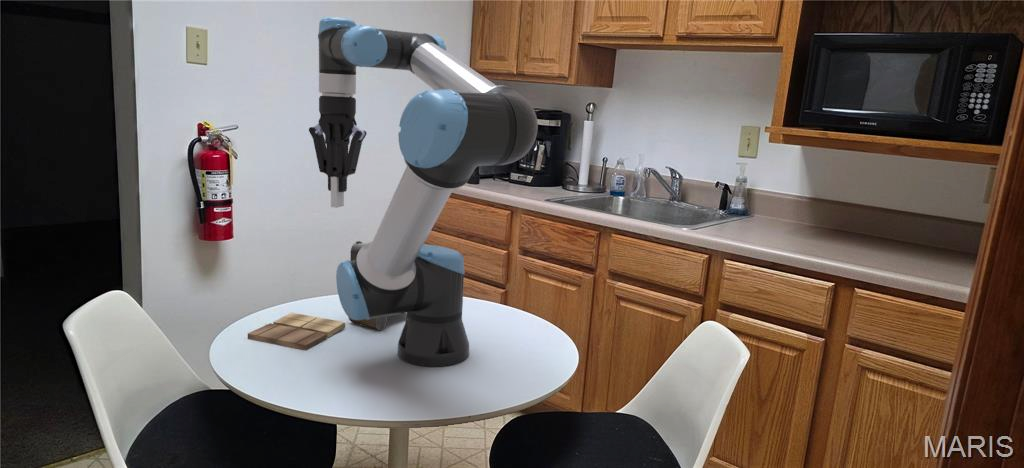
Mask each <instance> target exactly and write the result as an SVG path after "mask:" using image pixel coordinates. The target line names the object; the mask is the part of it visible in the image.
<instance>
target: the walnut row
mask: <svg viewBox="0 0 1024 468" xmlns="http://www.w3.org/2000/svg"><path fill="white" fill-rule="evenodd" d="M247 339H248V340H251V341H252V340H253V341H258V342H263V343H267V344H272V345H277V346H283V347H287V348H293V349H297V350H303V351H308V350H309V349H311V348H313V347H315V346H317V345H318V344H321V343H323V342H324V341H326V340H327V339H328V337H327V334H324V333H319V332H314V331H309V330H304V329H299V328H293V327H288V326H283V325H280V324H279V325H277V324H273V322H271V323H268V324H265V325H263V326H261V327H259V328H257V329H254V330H252V331H250V332H248V333H247Z"/></svg>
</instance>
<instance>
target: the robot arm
mask: <svg viewBox="0 0 1024 468" xmlns="http://www.w3.org/2000/svg"><path fill="white" fill-rule="evenodd" d="M317 39H318V93H319V94H321V95H320V96H319V97H318V111H319V114H320V115H319V119H318V123H317V124H315V126H311V127H309V128H308V132H309V134H310V136H311V137H312V140H313V146H314V150H315V155H316V160H317V166H318V170H319V172H320V173H322V174H323V173H324V174H325V175H327V189H328V191H330V208H341V207H344V206H345V193H346V192H347V190H348V187H347V186H348V177H349V176H351V175H355V174H356V171H357V166H358V162H359V158H360V155H361V154H360V153H361V149H362V145H363V141H364V139H365V137H366V136H367V135H368V134H367V131H366V130H362V129H361V128H360V127H358V126H357V121H356V118H355V117H356V114H357V112H356V111H357V99H356V97H354V95H356V93H357V90H356V89H357V67H359V68H373V69H374V68H375V69H386V70H387V69H389V70H390V69H391V70H399V71H400V70H401V71H410V73H412V74H413V75H414V76H416V77H417V78H418V79H420V80H421V81H422V82H424V83H425V84H427V86H428V87H430V88H431V89H432V90H429V89H428V90H424V91H421V92H419V93H417V94H416V95H414V96H413V97H412V98H411V99H409V101H408V103H407V104H406V106H405V108H403V111H402V114H401V117H400V121H399V126H398V127H400V131H399V132H398V135H397V136H398V145H399V149H400V152H401V154H402V156H403V161H404V164H405V166H406V167H405V169H404V171H403V174H402V175H401V178H400V180H399V181H398V185H397V187H396V189H395V191H394V192H393V195H392V198H391V199H390V202H389V205H388V206H387V208H386V211H385V212H384V215H383V217H382V220H381V222H380V224H379V226H378V228H377V230H376V233H375V235H374V237H373V239H372V241H370V242H367V243H366V244H365V243H364V244H365V245H364V246H363V247H362V248H361V249H360V250H359V252H358V254H357V257H356V259H355V260H353V261H350V260H349V259H347V260H346V261H342V262H340V263H339V264H337V268H336V277H335V278H336V290H337V295H338V298H339V299H338V300H339V303H340V305H341V308H342V309H343V311H344V313H345V315H346V316H347V317H350V318H351V319H353V320H363V319H367V320H369V319H372V318H378V317H384V316H387V317H388V316H394V315H398V314H399V315H400V314H403V313H404V314H405V313H406V320H405V323H404V326H403V328H402V330H401V334H400V336H399V339H398V342H397V356H398V357H399V358H400V359H401V360H403V361H404V362H407V363H409V364H413V365H417V366H423V367H446V366H451V365H455V364H458V363H462V362H463V361H464V360H467V358H468V357H469V354H470V343H469V342H470V341H469V339H468V335H467V333H466V332H467V331H466V328H465V325H464V322H463V304H464V303H463V302H464V300H463V299H464V282H465V281H464V279H465V274H466V272H465V259H464V256H463V255H462V253H460V252H459V251H457V250H455V249H453V248H449V247H445V246H439V245H433V244H425V242H426V241H427V238H428V237H429V235H430V233H431V231H432V229H433V227H434V225H436V222H437V220H438V219H439V216H440V215H441V213H442V211H443V209H444V207H445V205H446V204H447V201H448V200H449V198H450V196H451V194H452V193H453V190H457V189H460V188H462V187H464V186H465V185H467V183H468V181H470V178H471V176H472V175H473V173H474V171H475V169H477V167H482V166H484V167H485V166H487V167H490V166H505V165H509V164H512V163H515V162H516V161H519V160H520V159H522V158H523V157H524V156H526V155H527V154H528V152H529V151H530V150H531V149H532V147H533V146H534V144H535V141H536V139H537V135H538V130H539V129H538V128H539V127H538V126H539V123H538V117H537V114H536V111H535V109H534V107H533V106H532V104H531V103H530V101H528V100H527V99H526V98H525V97H524V96H523V95H521V94H520V93H518V92H517V91H516V90H514V89H513V88H511V87H509V86H506V85H496V84H495V83H494V82H492V81H491V80H489V79H488V78H486V76H485V77H484V76H483V75H482V74H480V73H479V72H477V71H476V70H474V69H473V68H471V67H470V66H469V65H467V64H466V63H465V62H463V61H461V60H460V59H458V57H457V58H456V56H454V55H452V54H451V53H449V52H448V51H447V46H446V45H445V41H444V40H443V38H441V37H440V36H437V35H432V34H429V33H425V32H424V33H421V32H420V33H418V32H407V31H398V30H392V29H391V30H390V29H382V28H376V27H375V26H370V25H362V24H360V25H359V24H358V25H357V24H356V22H355V21H354V20H353V19H350V18H346V17H345V18H344V17H343V18H342V17H323V18H321V19H320V20H319V25H318V35H317ZM350 137H352V138H351V139H350Z"/></svg>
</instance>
